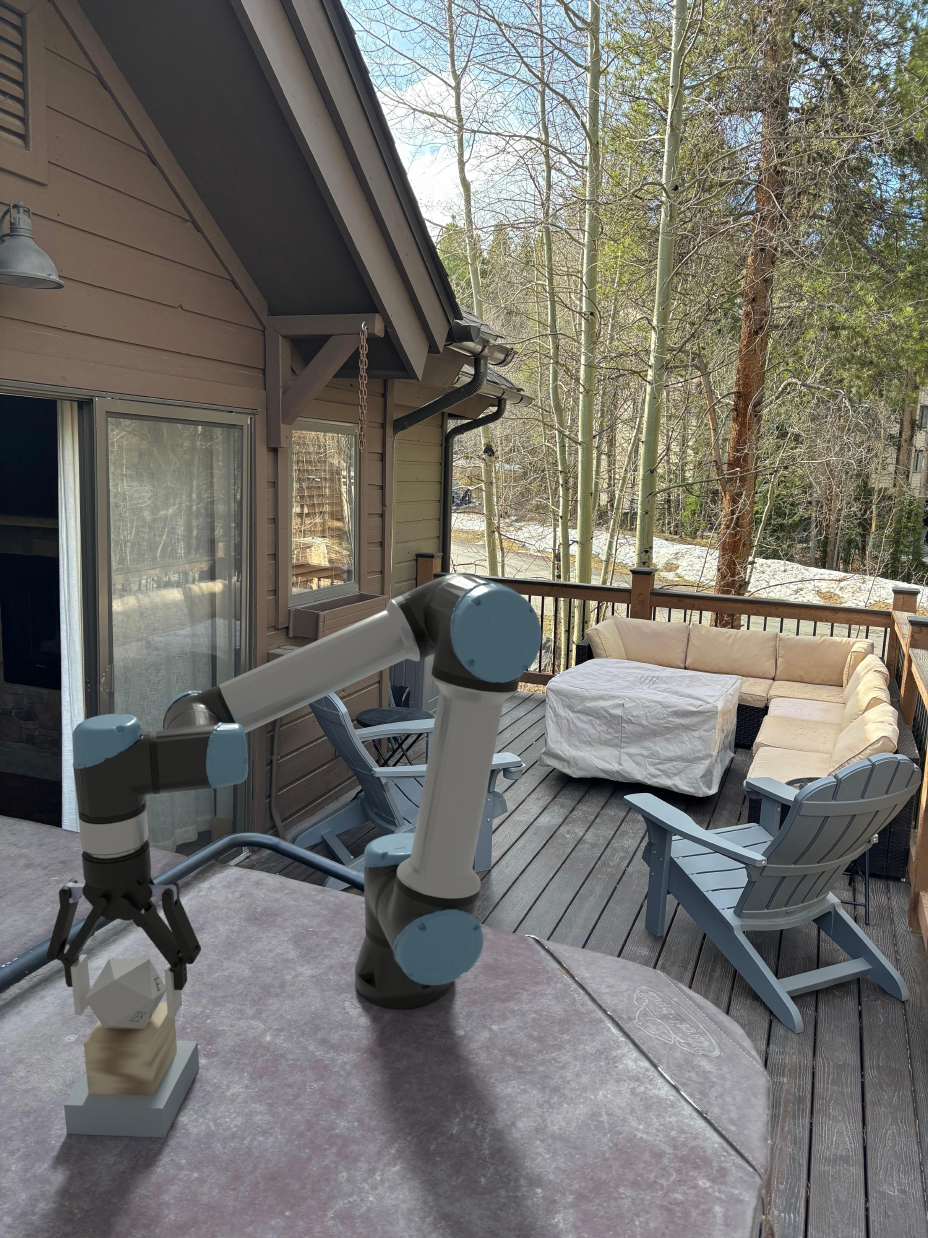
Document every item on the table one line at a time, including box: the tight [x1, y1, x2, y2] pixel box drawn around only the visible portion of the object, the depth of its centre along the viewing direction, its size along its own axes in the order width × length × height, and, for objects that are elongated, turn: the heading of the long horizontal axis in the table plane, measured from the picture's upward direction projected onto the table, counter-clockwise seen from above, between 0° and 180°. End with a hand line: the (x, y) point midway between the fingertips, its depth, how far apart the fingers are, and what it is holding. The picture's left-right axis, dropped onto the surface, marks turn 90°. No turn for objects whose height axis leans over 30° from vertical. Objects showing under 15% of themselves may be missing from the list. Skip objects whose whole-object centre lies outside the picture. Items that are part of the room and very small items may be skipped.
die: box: [85, 958, 166, 1029], centre depth 108 cm, size 8×9×10 cm
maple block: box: [83, 1001, 177, 1096], centre depth 109 cm, size 8×8×7 cm
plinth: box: [63, 1039, 200, 1139], centre depth 110 cm, size 12×12×4 cm
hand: (129, 1010), depth 108 cm, fingers open, 11 cm apart
